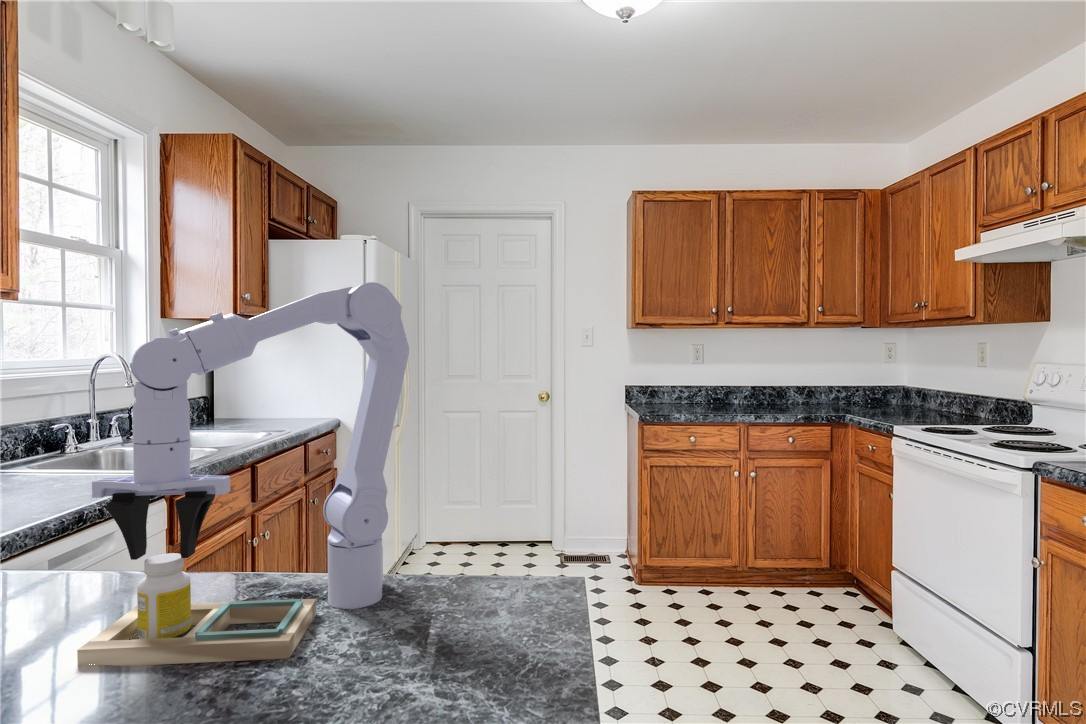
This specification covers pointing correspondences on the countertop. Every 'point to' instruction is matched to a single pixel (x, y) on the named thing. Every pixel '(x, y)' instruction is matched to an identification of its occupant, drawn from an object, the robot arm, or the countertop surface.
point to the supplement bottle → (164, 598)
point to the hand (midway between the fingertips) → (163, 556)
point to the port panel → (207, 635)
